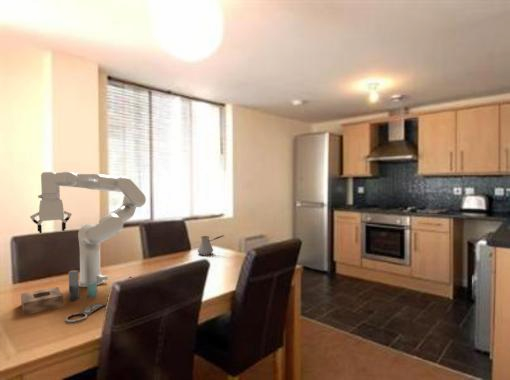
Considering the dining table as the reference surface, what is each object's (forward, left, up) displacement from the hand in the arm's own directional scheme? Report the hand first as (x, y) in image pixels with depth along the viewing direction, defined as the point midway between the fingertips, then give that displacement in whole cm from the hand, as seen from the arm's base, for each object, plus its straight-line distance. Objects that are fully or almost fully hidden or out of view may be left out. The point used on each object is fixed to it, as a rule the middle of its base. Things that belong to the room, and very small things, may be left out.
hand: (52, 231), depth 161 cm
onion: (-38, +9, -30) cm, 49 cm away
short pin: (-21, +11, -30) cm, 38 cm away
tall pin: (-14, +14, -30) cm, 36 cm away
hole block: (-3, +20, -30) cm, 36 cm away
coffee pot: (-80, -64, -30) cm, 107 cm away
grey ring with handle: (-25, +32, -30) cm, 51 cm away
